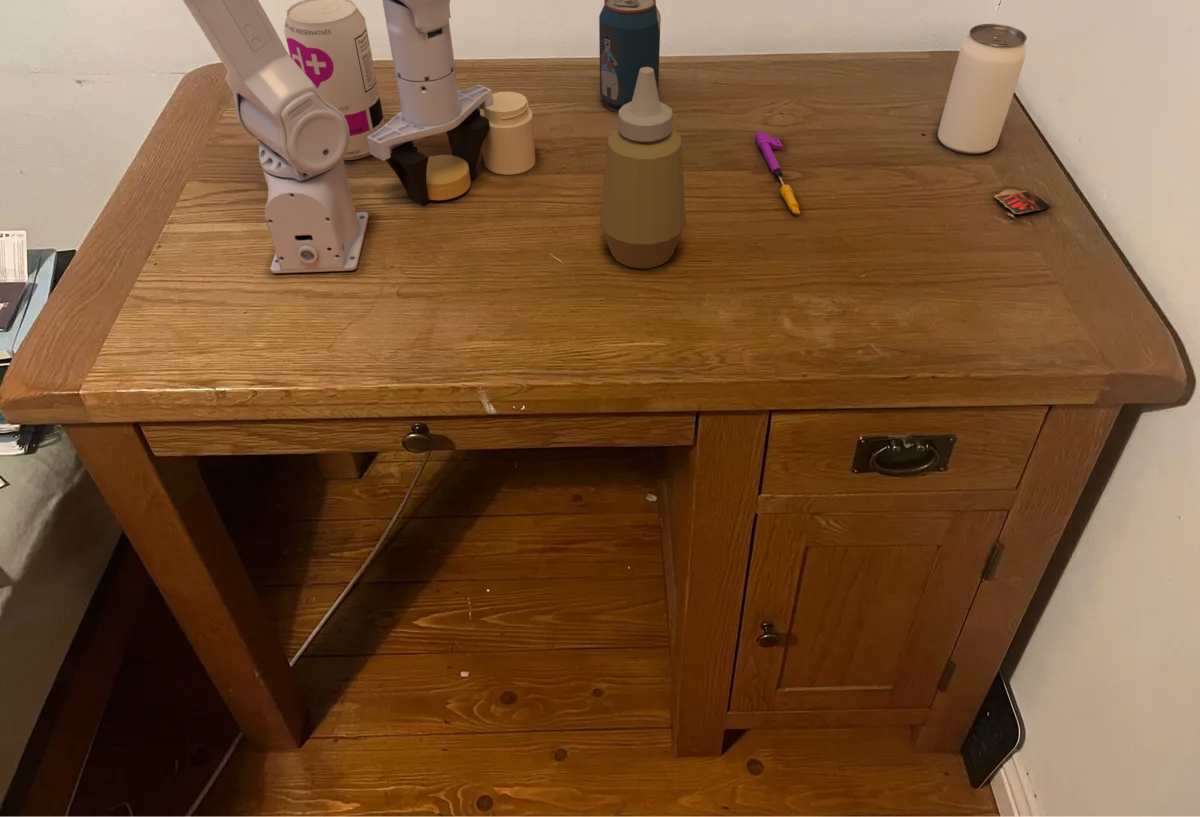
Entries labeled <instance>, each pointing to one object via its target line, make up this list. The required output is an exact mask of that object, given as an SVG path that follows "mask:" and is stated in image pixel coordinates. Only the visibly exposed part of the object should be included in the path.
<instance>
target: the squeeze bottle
mask: <svg viewBox="0 0 1200 817" xmlns="http://www.w3.org/2000/svg"><path fill="white" fill-rule="evenodd" d="M673 115H674V114H673V110H672V108H671V107H670V106H669V105H668V104H666V103H663V102H661V101H660V97H659V90H658V91H657V85H656V80H655V75H654V69H653V68H650V67H643V68H641V69H640V70H639V74H638V78H637V82H636V87H635V91H634V95H633V99H632V102H629V103H627V104H625V105H623V106H622V107H621V108H620V110H619V113H618V127H616V128H615V129H614V130H612V132H611V133H610V134H609V136H608V137H607V145H606V154H605V166H604V174H603V184H602V193H601V203H600V204H601V205H600V212H599V213H600V214H599V225H600V228H601V231H602V233H603V235H604V238H605V240H606V243H607V246H608V248H609V251H610V253H611V255H612V256H613V258H614V259H615V261H617V262H618V263H620V264H621V265H623V266H625V267H630V268H633V269H651V268H656V267H659V266H662V265H663V264H665V263H666V262H668V261H669V260H670V258H671V257H672V255H673V254H674V251H675V249H676V247H677V245H678V243H679V240H680V238H681V236H682V234H683V232H684V229H685V227H686V225H687V219H686V200H685V198H686V197H685V178H684V161H683V160H684V159H683V142H682V135H680V134H679V133H678V132H677V130H676V129H674V128H673Z"/></svg>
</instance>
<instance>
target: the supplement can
mask: <svg viewBox="0 0 1200 817" xmlns="http://www.w3.org/2000/svg"><path fill="white" fill-rule="evenodd" d="M283 33H284V37H285V41H286V45H287V48H288V54H289V55H290V57H291V58H292V59H293V60H294V61H295V63H296V64H297V65H298V66H299V67H300V68H301V69H302V71H303V72H304V73H305V74H306V75H307V76H308V77H309V79H310V80H311V81H312V82H313V83H314V85H315V86H316V88H317V90H318V92H319V93H320V95H321V97H322V98H323V99H324V100H325V101H326V102H328V103H329V104H331V105H333V106H334V107H336V108H337V109H338V110H339V111H340V112H341V113H342V114H343V115H344V117H345V119H346V121H347V123H348V126H349V132H350V138H349V144H348V147H347V150H346V152H345V154H344V156H343V160H344V161H354V160H359V159H363V158H366V157H369V156H372V155H371V153H370V149H369V144H368V139H367V136H369V135H371V134H373V133H375V132H376V131H378V130H379V129H380V128H382V127H383V126H384V125H385V124H386V123H385V117H384V112H383V108H382V102H381V97H380V96H381V95H380V92H379V91H380V90H379V86H378V81H377V76H376V70H375V64H374V60H373V54H372V49H371V44H370V39H369V33H368V28H367V22H366V19H365V16H364V15H363V14H362V12H361V11H360V10H359V8H358V7H357V4H356V3H355V1H353V0H301V1H298V2H296V3H294V4H292V5H290V6H289V7H288V9H287V10H286V17H285V22H284V27H283Z"/></svg>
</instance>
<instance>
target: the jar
mask: <svg viewBox="0 0 1200 817" xmlns="http://www.w3.org/2000/svg"><path fill="white" fill-rule="evenodd" d="M492 97H493V105H491V106H489V107H486V110H484V109H482V111H480V115H481V116H483V117H486V118H487V119H488V120H489V124H490V130H489V132H488V133H487V135H486V137H485V139H484V142H483V144H482V154H483V161H484V167H485V168H486V169H487V170H488V171H490V172H491V173H494V174H497V175H502V176H512V175H519V174H522V173H525V172H527V171H529V170H531V169H533V167H534V166H535V164H536V162H537V161H536V160H537V158H536V145H535V144H536V142H535V131H534V113H533V111H532V110H531V108H529V101H528V99H527V97H526V96H525V95H524V94H522V93H519V92H516V91H497V92H494V93H492Z"/></svg>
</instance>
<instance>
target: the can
mask: <svg viewBox="0 0 1200 817" xmlns="http://www.w3.org/2000/svg"><path fill="white" fill-rule="evenodd" d="M968 33H969V35H967V37H966V38H965V39H964V41H963V42H962V44H961V46H960V50H959V52H958V55H957V60H956V64H955V66H954V71H953V74H952V78H951V82H950V85H949V89H948V92H947V97H946V100H945V104H944V107H943V112H942V116H941V119H940V123H939V126H938V130H937V138H938V139H939V142H940V143H941V145H942V146H943V147H945V148H947V149H948V150H950V151H953V152H955V153H959V154H963V155H971V156H972V155H982V154H986V153H989V152H990V151H992V150H993V149H995V148H996V147H997V145H998V143H999V140H1000V137H1001V134H1002V131H1003V128H1004V124H1005V122H1006V119H1007V116H1008V112H1009V110H1010V107H1011V103H1012V100H1013V97H1014V94H1015V91H1016V88H1017V85H1018V82H1019V79H1020V76H1021V72H1022V69H1023V66H1024V63H1025V59H1026V56H1027V50H1026V42H1027V39H1028V37H1027V35H1026V34H1025V32H1023V31H1022V30H1021V29H1019V28H1016V27H1013V26H1010V25H1007V24H1000V23H982V24H981V23H980V24H976V25H975V26H972V27H971V28H970V29H969V32H968Z"/></svg>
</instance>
